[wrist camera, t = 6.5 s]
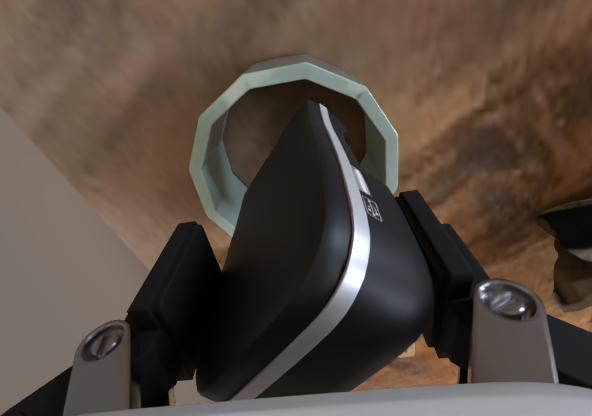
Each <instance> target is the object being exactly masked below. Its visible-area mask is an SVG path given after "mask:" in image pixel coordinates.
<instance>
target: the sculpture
mask: <svg viewBox="0 0 592 416" xmlns="http://www.w3.org/2000/svg"><path fill="white" fill-rule="evenodd" d="M536 221H537V222H538V225H539V226H541V227H542V228H543V229H544V231H546V232H548V233H550V234H551V235H552V236H553V237H555V241H554V246H555V250H556V251H557V252H558V256H559V257H558V259H557V261H556V263H555V265H554V290H553V293H552V296H553V298H554V299H555V301H556V302H557V304H558V305H559V306H560V308H561V309H562V311H563V312H569V311H579V310H582V309H585V308H587V307H590V306H592V199H586V200H580V201H575V202H570V203H566V204H563V205H559V206H556V207H553V208H550V209H547V210H545V211H543V212H541V213H540V214H539V215H538V216H537V217H536Z"/></svg>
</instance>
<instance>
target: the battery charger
mask: <svg viewBox="0 0 592 416" xmlns="http://www.w3.org/2000/svg"><path fill="white" fill-rule="evenodd" d="M349 145H350V137H349V133H348V131H347V129H346V128H345V126H344V125H343V124H342V123H341V122H340V121H339V119H338V118H337V117H336V116H334V115H333V114H331V113H330V112H328V111H327V108H326V107H324V106H323V105H321V104H320V103H319V104H317V103H315V102H314V101H312V100H306V101H304V102H303V104H302V105H301V106H300V108H299V109H298V111H297V113H296V114H295V116H294V117H293V119H292V120H291V122H290V123H289V125H288V126H287V128H286V130H285V131H284V133H283V134H282V136H281V137H280V139H279V140H278V142H277V144H276V145H275V147H274V148H273V150H272V151H271V153H270V155H269V156H268V158H267V159H266V161H265V162H264V164H263V166H262V167H261V169H260V170H259V172H258V173H257V175H256V177H255V178H254V180H253V181H252V183H251V184H250V186H249V188H248V189H247V191H246V192H245V194H244V197H243V201H242V205H241V208H240V212H239V216H238V220H237V223H236V227H235V230H234V233H233V237H232V240H231V243H230V247H229V250H228V253H227V257H226V260H225V264H224V267H223V270H222V274H221V277H220V281H219V284H218V288H217V291H216V295H215V299H214V302H213V306H212V309H211V313H210V317H209V321H208V324H207V328H206V332H205V335H204V339H203V343H202V347H201V351H200V355H199V359H198V363H197V370H196V377H195V378H196V386H197V391H198V392H199V394H200V395H201V396H203V397H205V398H207V399H210V400H212V401H214V402H222V401H235V400H247V399H260V398H273V397H285V396H298V395H311V394H324V393H337V392H350V391H351V390H353V389H354V388H356V387H357V386H358V385H360V384H361V383H363V382H364V381H365V380H367V379H368V378H370V377H371V376H372V375H374V374H375V373H376V372H378V371H379V370H381V369H382V368H383V367H385V366H386V365H387V364H389V363H390V362H392V361H393V360H394V359H396V358H397V357H398V356H400V355H401V354H402V353H404V352H405V351H406V350H407V349H408V348H409V347H410V346H411V345H412V344H413V343H414V342H415V341H417V340H418V338H419V336H420V335H421V333H422V332H423V330H424V328H425V327H426V325H427V324H428V322H429V318H430V314H431V311H432V307H433V303H434V297H433V281H432V277H431V274H430V271H429V268H428V264H427V262H426V260H425V257H424V255H423V253H422V251H421V249H420V246H419V244H418V242H417V240H416V238H415V236H414V234H413V231H412V229H411V227H410V225H409V223H408V221H407V219H406V217H405V215H404V214H403V212H402V210H401V208H400V206H399V205H398V203H397V201H396V199H395V198H394V196H393V194H392V193H391V191H390V189H389V188H388V186H386V185H385V184H384V183H383V182H381V181H380V180H379V179H378V178H376V177H375V176H373V175H372V174H370V173H368V172H367V171H365V170H364V169H362V168H361V167H360V165H359V163H358V162H357V160H356V158H355V156H354V154H353V152H352V151H351V149H350V147H349Z"/></svg>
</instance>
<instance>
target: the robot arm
mask: <svg viewBox="0 0 592 416" xmlns="http://www.w3.org/2000/svg"><path fill="white" fill-rule="evenodd" d="M395 199H396V201H397V203H398V205H399V206H400V208H401V210H402V212H403V214H404V215H405V217H406V219H407V221H408V223H409V225H410V227H411V229H412V231H413V234H414V236H415V238H416V240H417V242H418V244H419V246H420V249H421V251H422V253H423V255H424V257H425V260H426V262H427V264H428V268H429V271H430V274H431V277H432V281H433V297H434V303H433V307H432V311H431V314H430V318H429V322H428V324H427V325H426V327H425V328H424V330H423V332H422V334H423V336H424V339H425V341H426V344H427V345H428V347H434V348H435V351H436V353H437V356H438V358H449V360H450V361H451V362H452V363H454V364H456V365H457V366H459V367H458V382H457V384H452V385H434V386H419V387H406V388H392V389H378V390H365V391H351V392H337V393H324V394H311V395H298V396H285V397H273V398H260V399H247V400H235V401H222V402H211V403H198V404H186V405H176V402H175V394H174V386H175V385H176V383H177V381H183V380H192V379H193V376H194V373H195V369H197V363H198V359H199V355H200V351H201V347H202V343H203V339H204V335H205V332H206V328H207V324H208V321H209V317H210V313H211V309H212V306H213V302H214V299H215V295H216V291H217V288H218V284H219V281H220V277H221V274H222V272H221V269H220V267H219V265H218V262H217V260H216V257H215V255H214V253H213V250H212V248H211V245H210V243H209V241H208V238H207V236H206V233H205V231H204V229H203V227H202V225H200V224H199V225H198V224H197V223H196V222H195V221H193V222H186V223H180V224H178V225H177V227H176V229H175V231H174V232H173V234H172V236H171V237H170V239H169V241H168V242H167V244H166V246H165V248H164V249H163V251H162V253H161V254H160V256H159V258H158V260H157V261H156V263H155V265H154V266H153V268H152V270H151V271H150V273H149V275H148V277H147V278H146V280H145V282H144V283H143V285H142V287H141V288H140V290H139V292H138V294H137V295H136V297H135V299H134V301H133V302H132V304H131V305H130V307H129V309H128V311H127V313H128V315H127V317H126V318H125V320H124V321H123V320H114V321H110V322H107V323H105V324H103V325H101V326H99V327H98V328H96V329H95V330H93V331H92V332H91V333H89V334H88V335H87V336H86V338H84V339H83V341H82V342H81V343H80V345H79V346H78V348H77V351H76V353H75V357H74V362H73V366H71V367H70V368H68V369H67V370H65V371H64V372H63V373H61V374H60V375H58V376H57V377H55V378H54V379H52V380H51V381H49V382H48V383H46V384H45V385H44V386H42V387H41V388H39V389H38V390H36V391H35V392H33V393H32V394H31V395H29V396H28V397H26V398H25V399H23V400H22V401H20V402H19V403H18V404H16V405H15V406H13V407H12V408H10V409H9V410H7V411H6V412H5V413H3V414H2V415H1V416H592V333H591V332H589V331H586V330H584V329H581V328H579V327H577V326H574V325H572V324H569V323H567V322H565V321H562V320H560V319H557V318H555V317H552V316H550V315H548V314H546V310H545V307H544V305H543V302H542V300H541V299H540V298H539V297H538V296H537V295H536V293H534V292H533V291H532V290H530V289H529V288H527V287H526V286H523V285H521V284H519V283H517V282H514V281H510V280H507V279H497V278H495V279H490V278H489V277H488V275H487V274H486V273H485V271H484V270H483V268H482V267H481V266H480V264H479V263H478V262H477V260H476V259H475V258H474V256H473V255H472V253H471V252H470V251H469V249H468V248H467V247H466V245H465V244H464V243H463V241H462V240H461V239H460V237H459V236H458V234H457V233H456V232H455V230H454V229H453V228H452V227H451V225H450V224H441V223H440V222H439V220H438V219H437V218H436V216H435V215H434V213H433V212H432V210H431V209H430V207H429V206H428V205H427V203H426V202H425V200H424V199H423V197H422V196H421V194H420V193H419V192H418V191H417V190H413V191H406V192H400V194H399V197H395Z"/></svg>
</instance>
